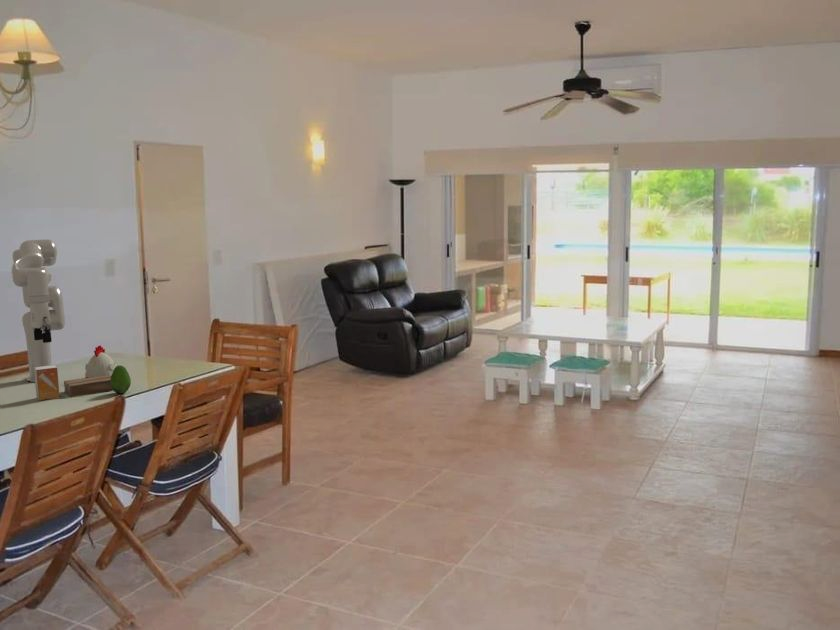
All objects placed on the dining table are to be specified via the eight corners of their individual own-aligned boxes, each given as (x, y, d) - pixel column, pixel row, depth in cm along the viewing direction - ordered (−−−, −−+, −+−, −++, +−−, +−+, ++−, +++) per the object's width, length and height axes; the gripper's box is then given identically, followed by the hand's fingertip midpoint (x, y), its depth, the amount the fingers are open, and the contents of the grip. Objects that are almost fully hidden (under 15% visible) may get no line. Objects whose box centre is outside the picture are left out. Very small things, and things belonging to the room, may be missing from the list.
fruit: (125, 395, 329) (122, 367, 327) (107, 395, 330) (105, 367, 328) (135, 391, 336) (132, 363, 335) (117, 390, 338) (115, 363, 336)
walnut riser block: (64, 392, 339) (63, 381, 338) (108, 386, 349) (107, 374, 348) (71, 397, 329) (70, 386, 328) (116, 390, 340) (115, 379, 339)
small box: (38, 401, 323) (35, 369, 322) (36, 398, 329) (33, 367, 327) (60, 397, 328) (57, 367, 326) (57, 395, 333) (54, 364, 331)
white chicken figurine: (79, 381, 358) (76, 348, 356) (95, 374, 372) (92, 343, 370) (108, 381, 357) (106, 348, 355) (123, 374, 370) (121, 343, 368)
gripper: (22, 299, 326) (26, 340, 328) (36, 302, 314) (40, 344, 316) (41, 297, 331) (45, 337, 333) (56, 300, 319) (60, 342, 321)
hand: (43, 341), depth 325 cm, fingers open, 9 cm apart
